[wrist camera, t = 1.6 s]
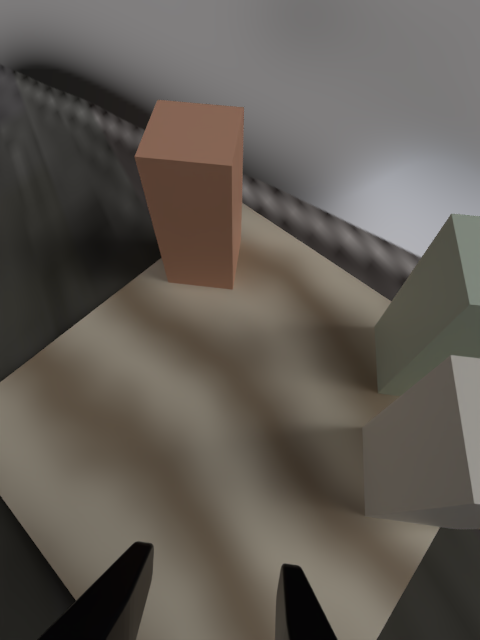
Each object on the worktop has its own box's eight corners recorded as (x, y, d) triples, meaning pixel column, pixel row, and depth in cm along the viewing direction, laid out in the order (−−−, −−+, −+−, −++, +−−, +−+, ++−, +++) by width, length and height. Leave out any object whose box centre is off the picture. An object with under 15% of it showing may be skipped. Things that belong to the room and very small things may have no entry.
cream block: (455, 529, 19) (645, 527, 10) (365, 516, 19) (474, 503, 10) (443, 438, 21) (591, 371, 12) (362, 427, 21) (450, 355, 13)
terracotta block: (232, 289, 26) (231, 165, 17) (168, 282, 26) (134, 156, 17) (241, 239, 28) (243, 107, 19) (181, 233, 28) (157, 99, 19)
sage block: (455, 403, 22) (599, 318, 13) (377, 393, 22) (469, 304, 14) (445, 335, 24) (562, 224, 16) (374, 326, 24) (451, 213, 16)
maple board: (255, 832, 15) (256, 851, 14) (-41, 427, 22) (-53, 422, 21) (508, 391, 23) (519, 386, 23) (236, 208, 31) (236, 199, 30)
